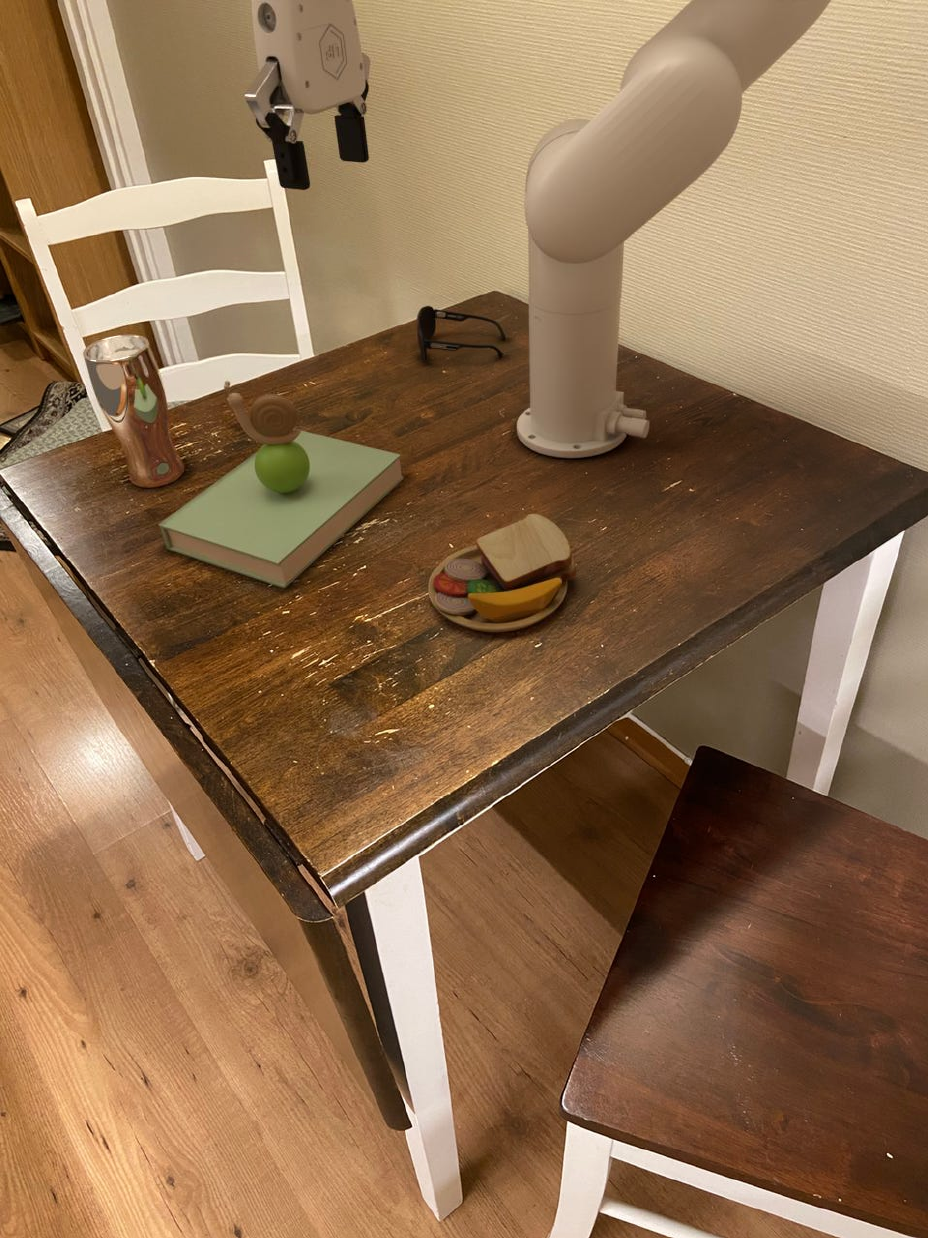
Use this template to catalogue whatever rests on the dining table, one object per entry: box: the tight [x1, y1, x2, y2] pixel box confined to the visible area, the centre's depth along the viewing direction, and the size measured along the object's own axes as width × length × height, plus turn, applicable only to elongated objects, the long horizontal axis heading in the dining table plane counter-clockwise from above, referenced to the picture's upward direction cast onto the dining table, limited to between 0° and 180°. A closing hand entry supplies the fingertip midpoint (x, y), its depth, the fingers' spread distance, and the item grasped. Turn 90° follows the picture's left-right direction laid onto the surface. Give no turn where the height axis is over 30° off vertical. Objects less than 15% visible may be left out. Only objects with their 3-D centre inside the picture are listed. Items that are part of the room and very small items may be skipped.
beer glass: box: [82, 333, 185, 489], centre depth 95 cm, size 7×7×15 cm
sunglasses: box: [416, 305, 506, 361], centre depth 119 cm, size 10×12×5 cm
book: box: [158, 428, 405, 589], centre depth 91 cm, size 15×21×3 cm
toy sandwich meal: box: [427, 513, 577, 633], centre depth 78 cm, size 12×14×5 cm
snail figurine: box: [223, 380, 310, 493], centre depth 86 cm, size 5×6×12 cm
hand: (326, 173), depth 85 cm, fingers open, 9 cm apart
